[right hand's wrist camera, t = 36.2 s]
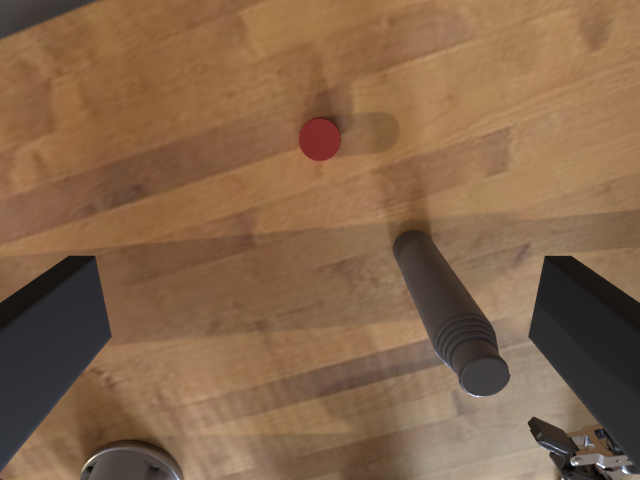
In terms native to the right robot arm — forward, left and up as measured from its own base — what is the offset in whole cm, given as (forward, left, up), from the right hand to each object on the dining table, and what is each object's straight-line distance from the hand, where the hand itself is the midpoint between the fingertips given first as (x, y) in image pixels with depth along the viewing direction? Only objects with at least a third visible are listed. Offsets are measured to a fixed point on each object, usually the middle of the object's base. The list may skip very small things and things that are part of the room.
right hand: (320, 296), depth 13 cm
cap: (0, 0, -36) cm, 36 cm away
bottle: (-14, -11, -38) cm, 42 cm away
